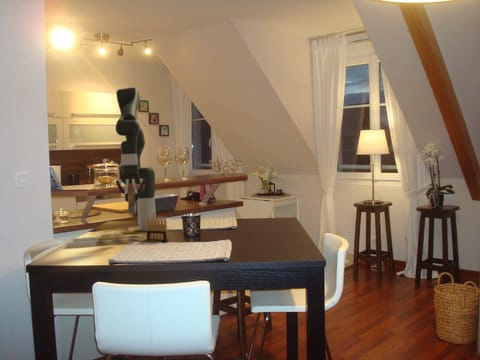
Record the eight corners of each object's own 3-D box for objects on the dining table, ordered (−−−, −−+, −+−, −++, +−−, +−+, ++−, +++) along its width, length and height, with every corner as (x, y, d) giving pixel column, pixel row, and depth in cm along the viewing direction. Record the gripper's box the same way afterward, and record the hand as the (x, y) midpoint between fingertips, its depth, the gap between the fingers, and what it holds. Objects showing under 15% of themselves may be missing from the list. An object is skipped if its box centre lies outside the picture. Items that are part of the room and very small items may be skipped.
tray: (99, 243, 222) (98, 236, 222) (96, 247, 212) (95, 241, 212) (72, 245, 221) (72, 238, 220) (67, 249, 210) (67, 243, 210)
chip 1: (111, 242, 220) (111, 233, 220) (110, 243, 216) (110, 234, 216) (102, 242, 219) (102, 234, 219) (101, 244, 215) (100, 235, 215)
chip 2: (122, 241, 221) (122, 232, 221) (121, 242, 217) (121, 234, 217) (113, 241, 220) (113, 233, 220) (112, 243, 216) (112, 234, 216)
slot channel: (143, 240, 226) (142, 234, 226) (141, 244, 214) (141, 238, 214) (99, 243, 223) (99, 237, 223) (95, 248, 211) (95, 241, 211)
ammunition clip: (168, 241, 220) (167, 215, 219) (166, 242, 218) (165, 216, 218) (149, 240, 224) (147, 215, 223) (146, 241, 222) (145, 215, 222)
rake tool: (136, 212, 221) (134, 182, 221) (135, 214, 216) (133, 183, 216) (129, 213, 221) (127, 183, 220) (128, 214, 216) (127, 183, 215)
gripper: (145, 163, 222) (147, 200, 223) (114, 164, 220) (116, 201, 221) (145, 163, 215) (147, 201, 216) (112, 164, 213) (115, 203, 214)
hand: (131, 201), depth 218 cm, fingers closed on rake tool, 3 cm apart
